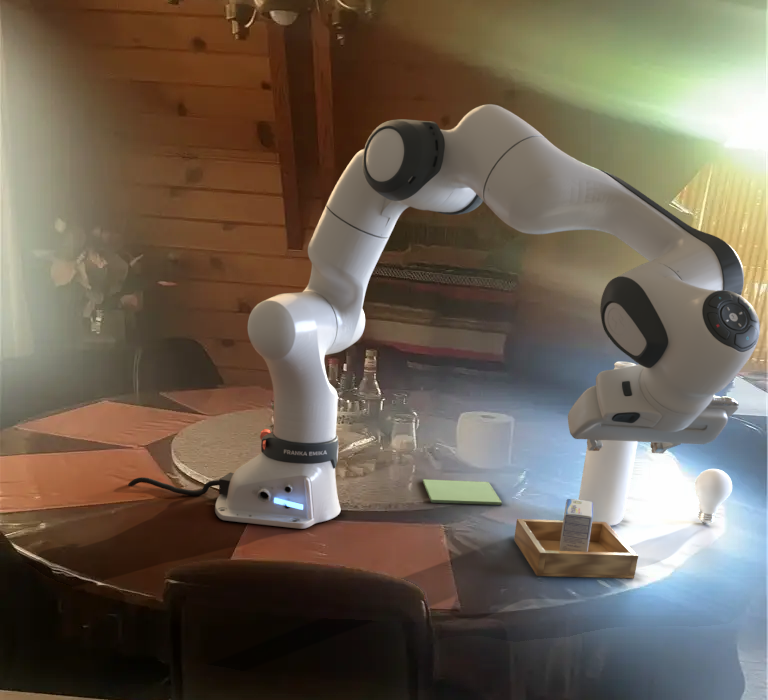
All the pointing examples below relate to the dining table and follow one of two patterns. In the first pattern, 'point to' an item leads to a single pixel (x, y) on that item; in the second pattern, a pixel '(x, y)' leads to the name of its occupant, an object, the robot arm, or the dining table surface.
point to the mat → (461, 492)
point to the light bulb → (711, 493)
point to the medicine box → (576, 525)
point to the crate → (601, 560)
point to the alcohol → (608, 476)
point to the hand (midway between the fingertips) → (624, 447)
